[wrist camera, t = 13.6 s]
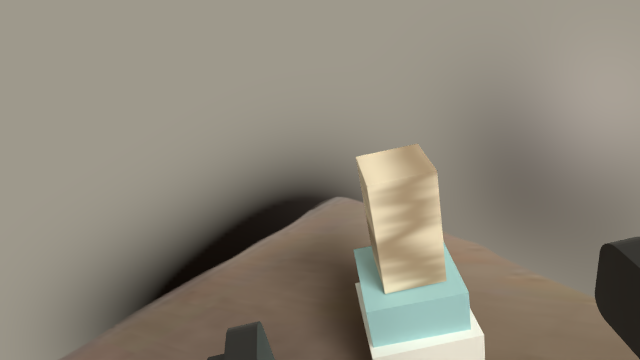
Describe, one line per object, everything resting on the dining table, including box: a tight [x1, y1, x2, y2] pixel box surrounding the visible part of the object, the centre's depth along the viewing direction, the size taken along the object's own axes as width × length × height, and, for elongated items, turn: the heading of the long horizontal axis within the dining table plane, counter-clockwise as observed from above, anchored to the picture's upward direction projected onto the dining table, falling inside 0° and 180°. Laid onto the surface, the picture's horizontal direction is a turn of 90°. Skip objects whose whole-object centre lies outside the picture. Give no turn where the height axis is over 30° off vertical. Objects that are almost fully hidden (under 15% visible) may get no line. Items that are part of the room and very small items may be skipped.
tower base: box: [355, 282, 485, 360], centre depth 41 cm, size 9×9×4 cm
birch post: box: [356, 144, 447, 294], centre depth 37 cm, size 5×5×10 cm
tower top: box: [354, 242, 471, 348], centre depth 40 cm, size 8×8×4 cm
